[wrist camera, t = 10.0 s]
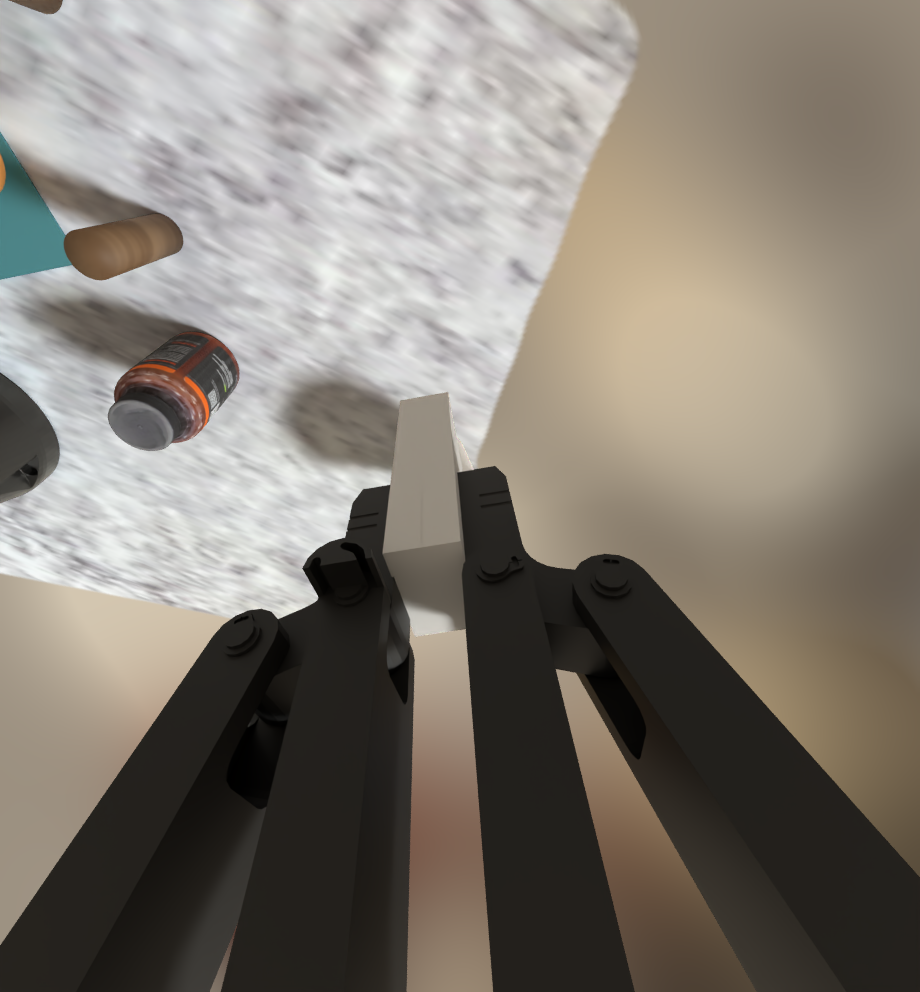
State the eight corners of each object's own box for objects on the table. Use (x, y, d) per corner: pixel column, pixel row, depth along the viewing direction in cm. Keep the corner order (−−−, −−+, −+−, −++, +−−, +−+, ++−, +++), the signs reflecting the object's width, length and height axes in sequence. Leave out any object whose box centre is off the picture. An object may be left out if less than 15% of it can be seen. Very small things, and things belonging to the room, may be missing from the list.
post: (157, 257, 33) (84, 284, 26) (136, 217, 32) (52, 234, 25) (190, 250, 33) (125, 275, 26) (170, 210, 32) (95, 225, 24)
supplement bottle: (152, 347, 37) (66, 406, 28) (208, 317, 36) (135, 369, 27) (204, 405, 41) (141, 474, 32) (256, 379, 40) (206, 444, 31)
